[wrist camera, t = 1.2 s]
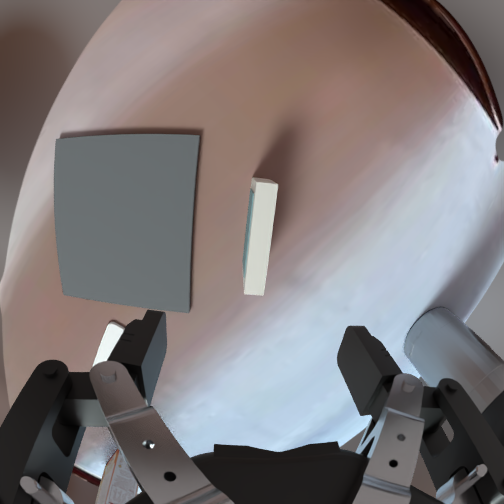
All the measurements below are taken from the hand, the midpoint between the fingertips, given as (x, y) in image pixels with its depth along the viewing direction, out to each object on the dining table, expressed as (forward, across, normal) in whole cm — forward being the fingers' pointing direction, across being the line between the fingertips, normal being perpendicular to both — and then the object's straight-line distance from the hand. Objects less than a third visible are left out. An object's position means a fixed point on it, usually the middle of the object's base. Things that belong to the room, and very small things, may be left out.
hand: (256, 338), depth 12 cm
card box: (+17, -1, -1) cm, 17 cm away
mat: (+16, +13, 0) cm, 21 cm away
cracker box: (+17, +20, +51) cm, 57 cm away
